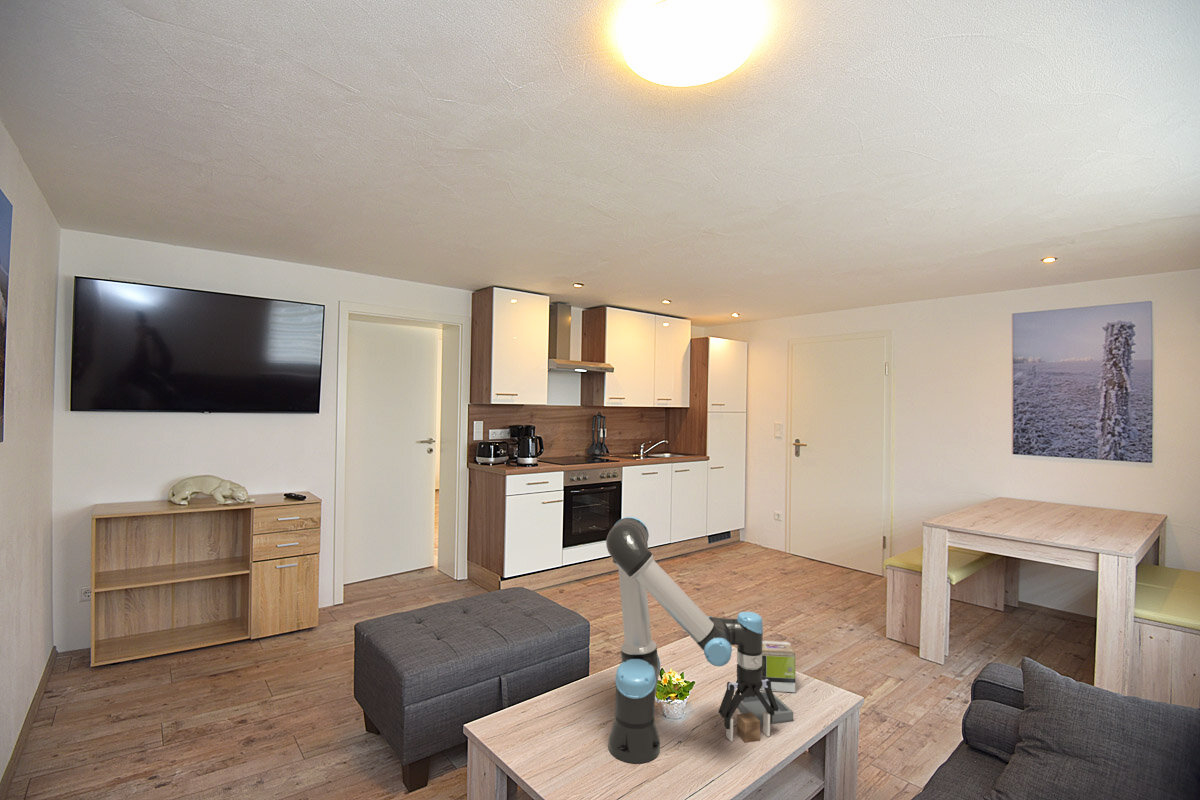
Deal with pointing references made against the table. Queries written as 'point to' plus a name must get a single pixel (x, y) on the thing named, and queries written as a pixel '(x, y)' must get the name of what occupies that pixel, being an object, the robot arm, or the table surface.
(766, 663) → the tea box
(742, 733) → the walnut block
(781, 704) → the tray
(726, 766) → the table surface
